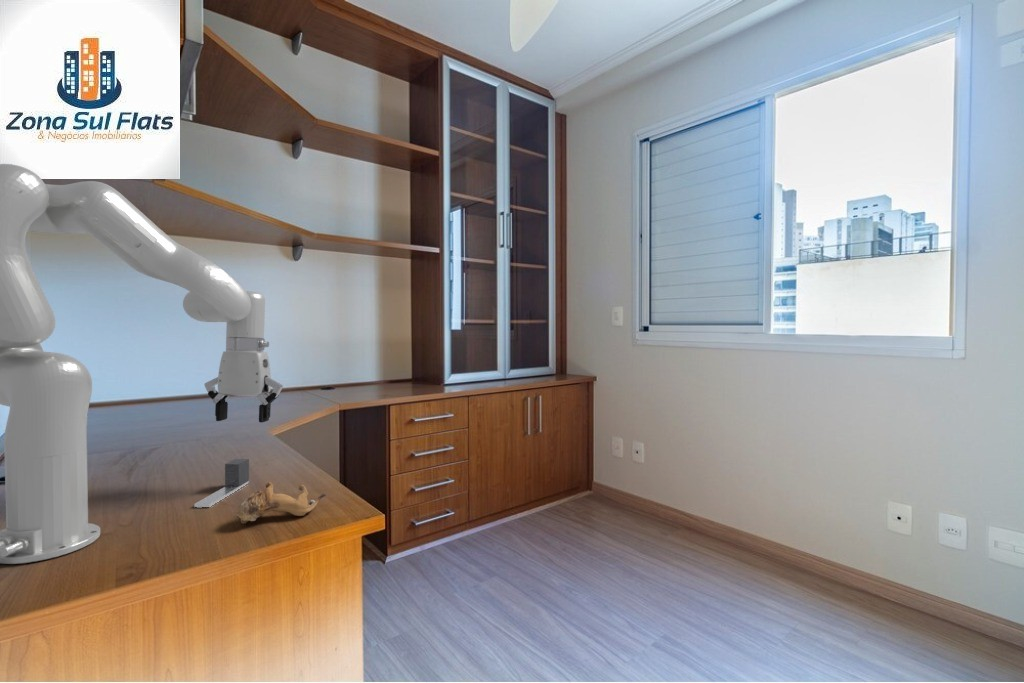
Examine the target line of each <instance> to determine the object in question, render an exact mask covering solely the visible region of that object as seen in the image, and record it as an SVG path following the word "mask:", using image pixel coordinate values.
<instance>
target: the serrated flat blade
mask: <svg viewBox="0 0 1024 683" xmlns="http://www.w3.org/2000/svg"><path fill="white" fill-rule="evenodd" d="M248 483H249V484H250V459H249V458H235V459H233V460H230V461H229V462H226V463H225V464H224V486H223V487H222V488H220V489H219V490H216V491H215V492H213V493H211V494H209V495H208V496H205V497H204V498H202V499H200V500H199V501H196V502H195V503H194V506H193V507H194V509H203V508H202V507H211V506H212V505H214V504H215V503H217V502H219V501H220V500H222V499H224V498H225V497H227V496H229V495H230V494H232V493H234V492H235V491H237V490H238V489H240V488H241V487H243V486H245V485H246V484H248ZM245 487H246V486H245ZM240 490H241V489H240ZM237 492H238V491H237ZM234 494H235V493H234ZM232 495H233V494H232ZM229 497H230V496H229ZM227 498H228V497H227ZM224 500H225V499H224ZM222 501H223V500H222ZM219 503H220V502H219ZM217 504H218V503H217ZM214 506H215V505H214ZM195 507H197V508H195ZM212 507H213V506H212ZM212 507H211V508H212Z"/></svg>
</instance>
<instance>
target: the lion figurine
mask: <svg viewBox="0 0 1024 683" xmlns="http://www.w3.org/2000/svg"><path fill="white" fill-rule="evenodd" d="M298 490H299V491H300V492H302V493H300V494H299V495H298V496H297V498H294V497H292V496H290V495H288V494H285V493H275V492H274V484H273V483H272V482H270V481H269V482H266V484H265V490H258V491H257V492H253V493H251V494H250V495H249V496H248V497H246V498H245V500H243V501H242V502H241V503H240V504H239V505H238V507H237V508H238V509H237V512H236V514H235V516H237V517H239V518H240V523H241V524H242V525H243V524H244V523H245V524H247V523H248V522H254V521H255V522H256V520H257V518H259V517H261V516H262V515H264V514H266V513H267V512H270V511H272V512H279V513H280V512H281V513H283V512H284V513H289V514H291V515H293V516H295V517H296V516H297V517H302V516H303V517H304V516H305V515H307V513H309V512H311V511H312V510H314V509H315V508H316V506H317V504H318V503H319V501H321V499H322V498H325V497H326V496H327V493H323V494H320V496H319V497H318V498H317V499H316V500H314V499H311V500H308V495H309V492H308V490H307V487H306V486H305V485H304V484H300V485H299V486H298Z"/></svg>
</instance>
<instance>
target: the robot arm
mask: <svg viewBox="0 0 1024 683" xmlns="http://www.w3.org/2000/svg"><path fill="white" fill-rule="evenodd" d="M29 232H30V233H42V234H61V235H64V234H65V235H81V234H89V235H90V237H92V238H94V239H95V240H96V241H98V242H99V243H100V244H102V245H103V246H104V247H105V248H107V249H108V250H110V252H112V253H113V254H114V255H116V256H117V257H118V258H119V259H121V260H122V261H123V262H125V263H126V264H127V265H128V266H129V267H130V268H132V269H133V270H135V271H136V272H138V273H140V274H143V275H145V276H148V277H150V278H152V279H156V280H160V281H163V282H166V283H170V284H173V285H176V286H179V287H180V288H183V289H185V290H187V291H188V293H186V294H185V295H184V297H183V299H182V307H183V310H184V312H185V314H187V316H189V317H190V318H191V319H193V320H196V321H199V322H204V323H226V329H225V330H226V332H225V334H226V335H225V351H222V355H221V358H220V362H219V367H218V368H219V369H218V375H217V377H214V378H213V379H211V380H209V381H206V382H204V388H205V390H206V391H207V395H208V396H209V397H210V398H211V400H212V403H214V404H215V406H214V408H215V409H214V410H215V411H214V412H215V414H214V416H215V421H216V422H222V421H225V420H226V419H228V412H229V411H228V410H229V408H228V405H229V404H228V401H226V400H227V399H228V398H229V397H230V396H233V397H234V396H235V397H256V398H257V399H258V401H260V403H261V404H260V405H259V406H258V422H259V423H266V422H268V421H269V420H270V418H271V408H272V407H271V404H273V402H274V401H275V400H276V399H277V398H279V395H280V393H281V391H282V389H283V388H284V385H283V384H281V383H280V382H278V381H275V380H273V379H272V378H271V376H272V375H271V366H270V364H271V363H270V359H269V355H268V351H266V352H265V351H264V350H265V348H269V347H270V342H269V341H265V340H266V338H265V315H266V314H265V312H266V298H265V296H264V295H263V293H261V292H256V291H246V290H245V289H244V288H243V287H242V286H241V284H240V283H238V282H237V280H235V279H234V278H233V277H232V276H231V275H230V274H229V273H227V271H225V270H224V269H223V268H221V267H220V266H219V265H217V264H215V263H214V262H212V261H211V260H209V259H207V258H205V257H204V256H202V255H200V254H198V253H196V252H195V251H193V250H191V249H189V248H187V247H186V246H183V245H181V244H180V243H178V242H176V241H175V240H173V239H172V238H171V237H170V236H169V235H168V234H167V233H166V232H164V231H163V230H162V229H161V228H160V227H158V225H156V224H155V223H154V222H153V221H152V220H151V219H150V218H149V217H147V216H146V215H145V214H144V213H143V212H142V211H141V210H140V209H139V208H137V207H136V206H135V205H134V204H133V203H132V202H131V201H129V199H127V197H125V196H124V195H123V194H122V193H120V191H118V190H117V189H115V188H114V187H112V186H111V185H109V184H107V183H104V182H101V181H96V180H87V181H86V180H85V181H79V182H74V183H69V184H51V183H50V184H49V183H45V182H44V181H43V179H42V178H41V177H40V176H39V175H38V174H37V173H35V172H34V171H32V170H31V169H28V168H26V167H23V166H21V165H16V164H12V163H11V164H10V163H0V405H1V406H6V407H8V408H9V412H8V416H7V420H6V424H5V430H4V438H3V439H4V440H3V441H4V442H3V449H4V450H3V451H4V452H3V453H4V454H3V455H4V479H5V481H4V484H5V485H4V486H5V487H4V489H5V493H4V494H5V524H6V525H5V528H4V529H0V564H4V565H5V564H6V565H16V564H19V565H20V564H27V563H34V562H39V561H40V562H41V561H44V560H49V559H53V558H57V557H61V556H65V555H67V554H70V553H73V552H75V551H77V550H80V549H83V548H85V547H86V546H89V545H91V544H92V543H94V542H95V541H96V540H98V538H100V536H101V527H100V526H99V525H97V524H96V523H95V524H94V523H92V522H91V523H89V506H88V505H89V501H88V500H89V499H88V497H89V495H88V488H89V487H88V447H87V446H88V444H87V443H88V442H87V438H88V437H87V434H88V433H87V432H88V431H87V428H88V413H89V407H90V401H91V397H92V392H93V380H92V376H91V373H90V371H89V370H88V368H87V367H86V366H85V364H83V363H82V362H81V361H80V360H78V359H76V358H75V357H73V356H70V355H68V354H64V353H60V352H51V351H45V350H44V349H43V347H42V345H41V343H43V342H45V341H46V340H48V339H49V338H50V337H51V336H52V334H53V333H54V331H55V329H56V318H55V314H54V311H53V309H52V307H51V305H50V303H49V301H48V299H47V297H46V294H45V292H44V290H43V289H42V286H41V284H40V282H39V280H38V277H37V276H36V273H35V271H34V269H33V267H32V265H31V264H32V263H31V261H30V258H29V255H28V253H27V249H26V248H27V247H26V237H27V233H29ZM216 386H217V389H216ZM271 390H272V392H271ZM270 392H271V393H270ZM269 393H270V394H269Z"/></svg>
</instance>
